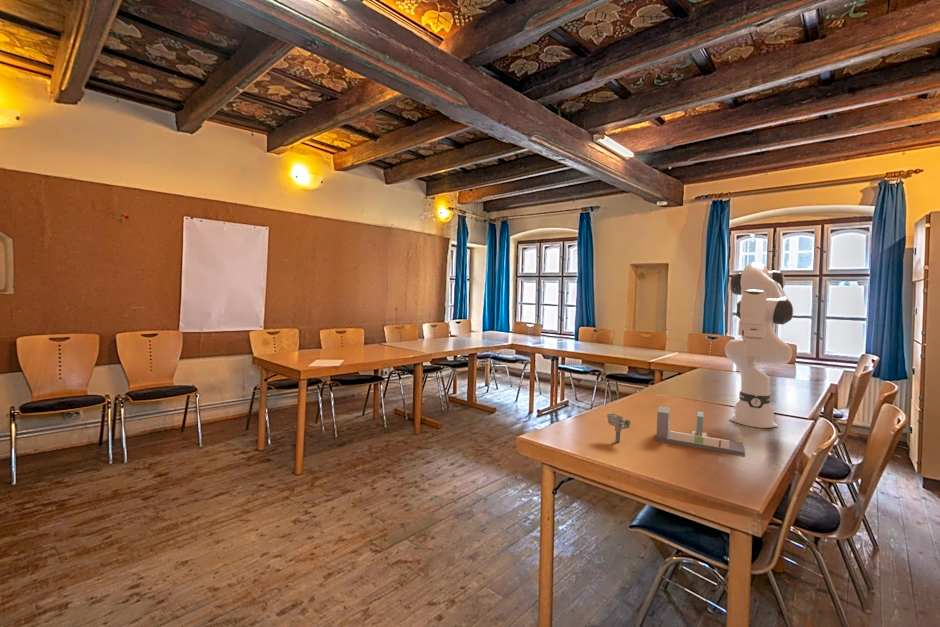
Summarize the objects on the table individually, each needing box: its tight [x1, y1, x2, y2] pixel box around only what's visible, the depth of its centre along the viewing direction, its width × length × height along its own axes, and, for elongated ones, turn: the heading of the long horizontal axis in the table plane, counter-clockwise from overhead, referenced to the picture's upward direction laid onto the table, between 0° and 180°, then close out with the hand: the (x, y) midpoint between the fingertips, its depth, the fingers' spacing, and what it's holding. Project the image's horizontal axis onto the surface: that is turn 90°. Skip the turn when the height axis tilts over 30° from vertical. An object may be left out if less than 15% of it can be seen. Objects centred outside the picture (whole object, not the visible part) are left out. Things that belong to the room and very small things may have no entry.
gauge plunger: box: [691, 411, 707, 437], centre depth 170 cm, size 10×5×10 cm, turn 152°
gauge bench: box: [655, 406, 746, 457], centre depth 171 cm, size 12×30×12 cm, turn 62°
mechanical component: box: [606, 413, 631, 444], centre depth 170 cm, size 3×10×10 cm, turn 27°
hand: (749, 366), depth 169 cm, fingers closed
